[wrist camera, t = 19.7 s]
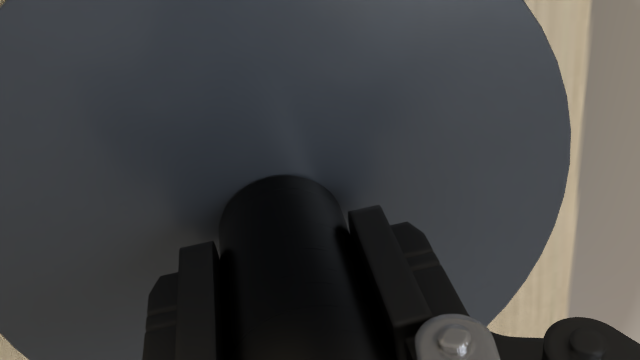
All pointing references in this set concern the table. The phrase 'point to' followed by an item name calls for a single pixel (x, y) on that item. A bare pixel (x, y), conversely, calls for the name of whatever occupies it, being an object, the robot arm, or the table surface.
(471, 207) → the lid
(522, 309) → the table surface
